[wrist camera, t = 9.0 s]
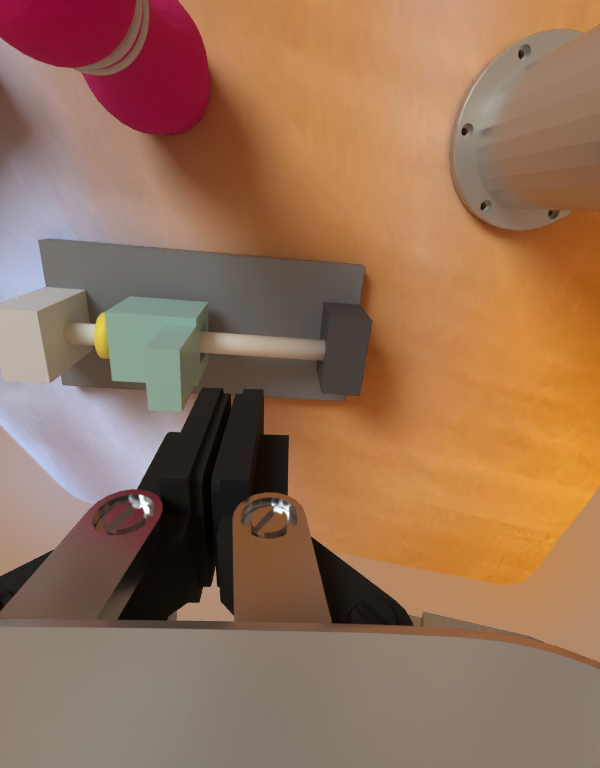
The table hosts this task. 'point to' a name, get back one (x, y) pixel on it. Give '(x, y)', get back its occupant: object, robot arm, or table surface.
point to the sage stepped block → (158, 347)
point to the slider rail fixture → (225, 318)
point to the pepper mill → (120, 55)
